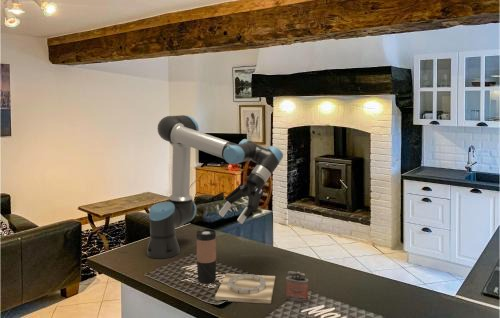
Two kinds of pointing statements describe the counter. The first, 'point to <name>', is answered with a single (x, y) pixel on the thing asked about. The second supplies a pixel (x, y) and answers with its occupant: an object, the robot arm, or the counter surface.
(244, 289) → the dock collar
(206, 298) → the counter surface
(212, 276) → the travel mug
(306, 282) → the lighter
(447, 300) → the counter surface
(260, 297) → the dock board
